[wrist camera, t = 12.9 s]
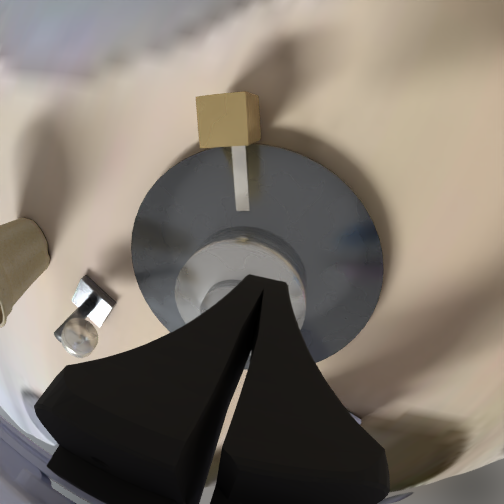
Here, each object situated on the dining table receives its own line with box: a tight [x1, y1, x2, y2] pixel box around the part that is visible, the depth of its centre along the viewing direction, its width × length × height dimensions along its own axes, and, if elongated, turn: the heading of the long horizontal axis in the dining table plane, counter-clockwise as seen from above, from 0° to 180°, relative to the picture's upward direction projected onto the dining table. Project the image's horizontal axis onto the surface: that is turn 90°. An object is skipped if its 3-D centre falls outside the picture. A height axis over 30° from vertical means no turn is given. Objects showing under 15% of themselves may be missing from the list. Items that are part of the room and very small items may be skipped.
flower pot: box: [0, 218, 50, 328], centre depth 21 cm, size 9×9×9 cm
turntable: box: [131, 92, 383, 370], centre depth 18 cm, size 18×21×4 cm
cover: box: [175, 226, 307, 356], centre depth 18 cm, size 8×8×4 cm
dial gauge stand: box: [54, 275, 116, 358], centre depth 23 cm, size 5×4×7 cm
